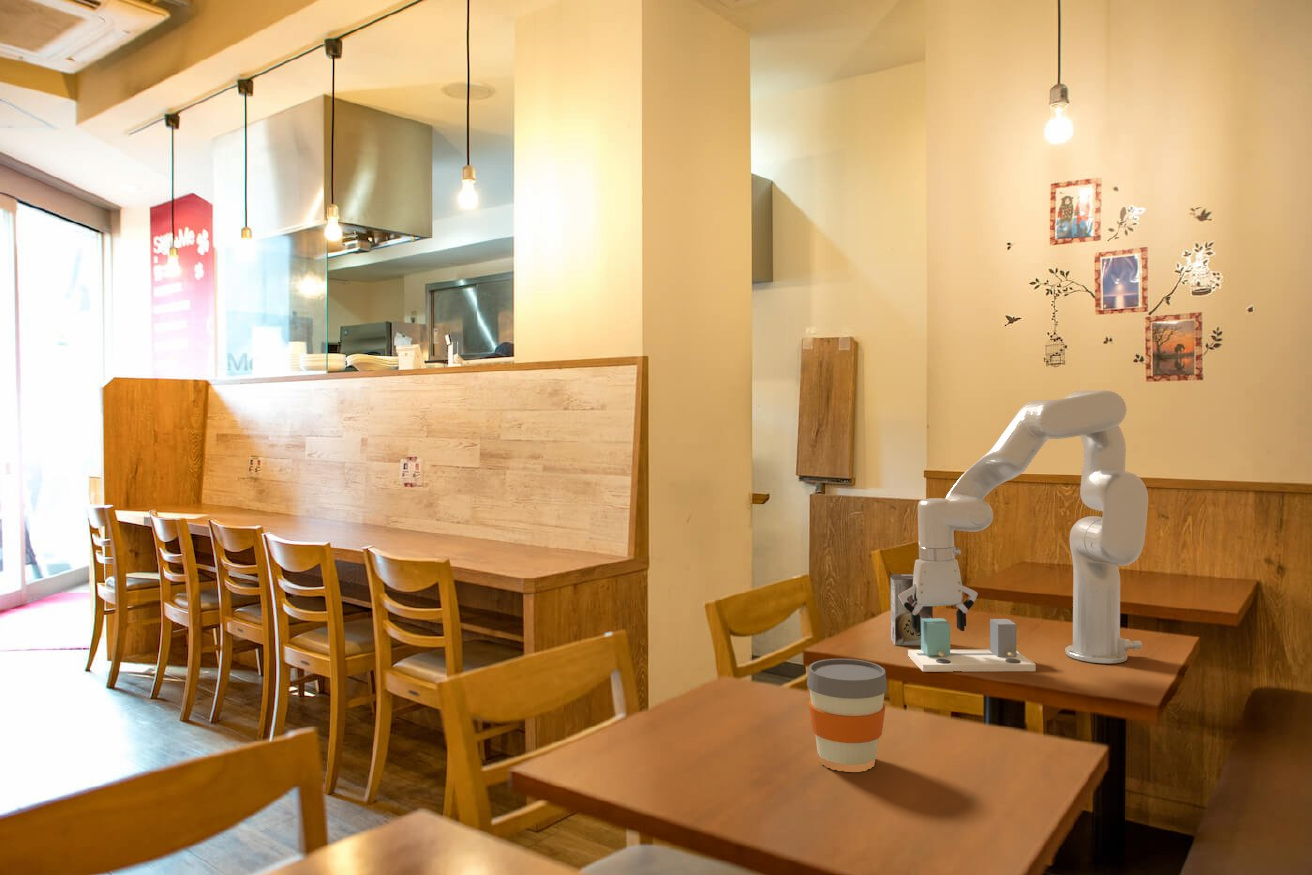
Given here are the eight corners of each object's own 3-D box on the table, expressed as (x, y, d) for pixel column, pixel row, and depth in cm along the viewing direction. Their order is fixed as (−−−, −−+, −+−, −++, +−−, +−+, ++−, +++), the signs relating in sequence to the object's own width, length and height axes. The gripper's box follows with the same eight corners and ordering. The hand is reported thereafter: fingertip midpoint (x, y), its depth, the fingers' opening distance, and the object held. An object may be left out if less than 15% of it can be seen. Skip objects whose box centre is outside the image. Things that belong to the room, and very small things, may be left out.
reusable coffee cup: (792, 753, 149) (792, 662, 148) (858, 742, 153) (858, 654, 153) (833, 782, 137) (833, 684, 136) (903, 770, 141) (903, 675, 141)
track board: (1014, 655, 205) (1014, 617, 205) (1035, 671, 193) (1035, 630, 193) (908, 656, 206) (908, 617, 205) (922, 671, 194) (923, 630, 193)
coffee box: (928, 639, 220) (928, 573, 220) (933, 646, 214) (933, 578, 213) (890, 638, 221) (890, 573, 221) (894, 645, 215) (894, 578, 214)
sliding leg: (943, 649, 204) (943, 618, 204) (954, 658, 196) (954, 626, 196) (921, 649, 204) (921, 618, 204) (930, 658, 196) (931, 626, 196)
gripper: (970, 550, 204) (972, 625, 205) (893, 552, 205) (895, 627, 205) (981, 555, 197) (983, 633, 198) (901, 558, 197) (904, 636, 198)
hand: (938, 630), depth 201 cm, fingers open, 9 cm apart
